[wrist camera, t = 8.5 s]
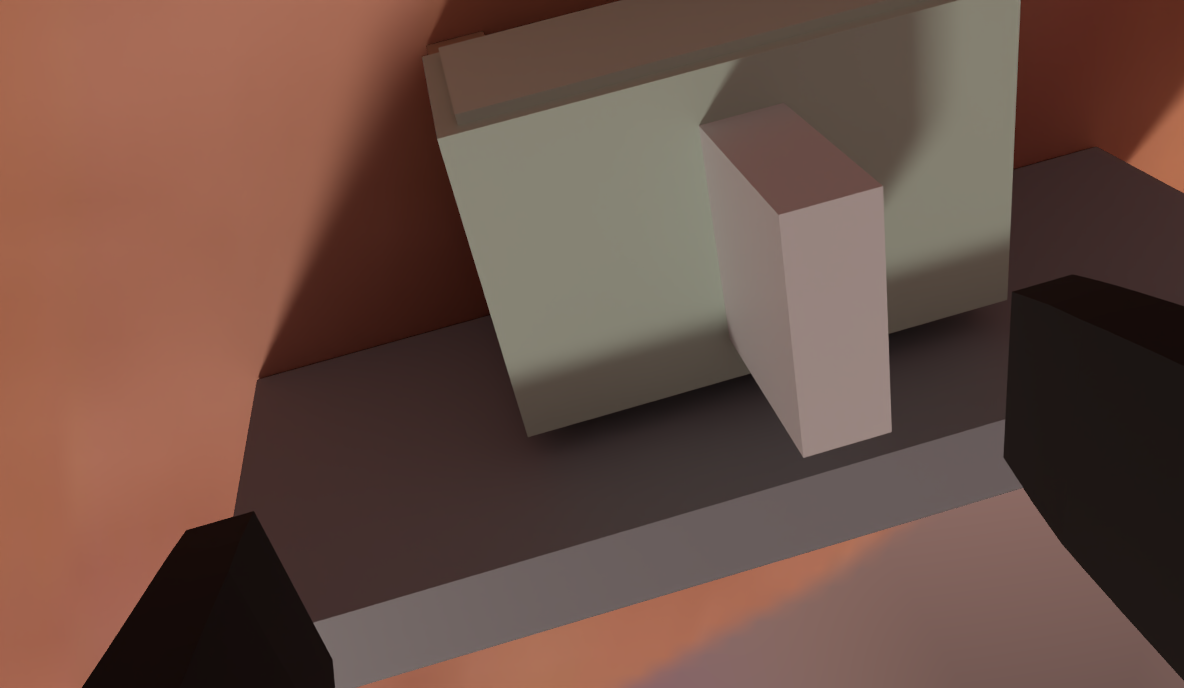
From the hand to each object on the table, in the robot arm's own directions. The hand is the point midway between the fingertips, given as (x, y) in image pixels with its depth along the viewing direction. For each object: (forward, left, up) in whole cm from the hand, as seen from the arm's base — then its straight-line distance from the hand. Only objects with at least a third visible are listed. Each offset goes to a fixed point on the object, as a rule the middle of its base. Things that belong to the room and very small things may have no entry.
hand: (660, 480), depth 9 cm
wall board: (+3, -3, -10) cm, 11 cm away
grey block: (+3, -1, -10) cm, 11 cm away
